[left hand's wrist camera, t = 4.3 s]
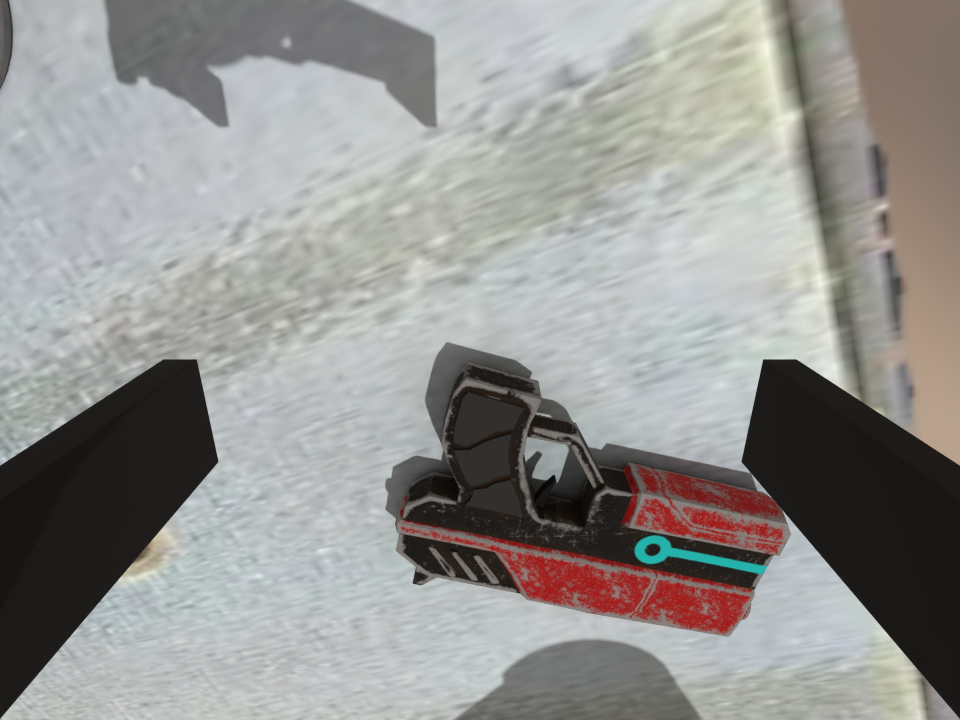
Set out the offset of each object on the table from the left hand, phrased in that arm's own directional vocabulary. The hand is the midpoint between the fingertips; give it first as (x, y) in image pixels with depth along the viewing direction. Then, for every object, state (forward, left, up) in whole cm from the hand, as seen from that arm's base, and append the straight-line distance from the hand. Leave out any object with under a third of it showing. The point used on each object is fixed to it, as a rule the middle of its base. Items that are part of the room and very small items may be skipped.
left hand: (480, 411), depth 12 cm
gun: (+15, +18, -26) cm, 35 cm away
